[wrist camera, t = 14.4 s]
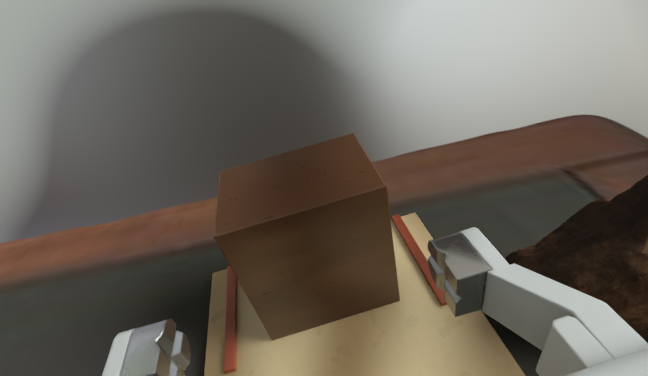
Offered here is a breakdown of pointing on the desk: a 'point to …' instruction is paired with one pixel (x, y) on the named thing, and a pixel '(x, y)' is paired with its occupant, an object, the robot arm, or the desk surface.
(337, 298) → the tall rectangular block
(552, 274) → the decorative rock
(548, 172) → the desk surface
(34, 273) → the desk surface
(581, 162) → the desk surface
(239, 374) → the game board
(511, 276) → the robot arm
